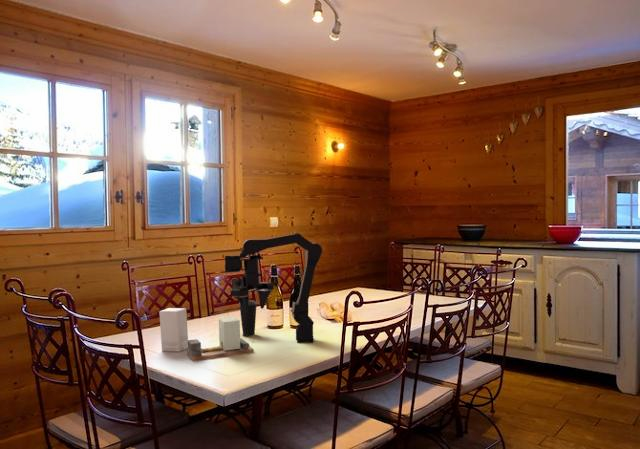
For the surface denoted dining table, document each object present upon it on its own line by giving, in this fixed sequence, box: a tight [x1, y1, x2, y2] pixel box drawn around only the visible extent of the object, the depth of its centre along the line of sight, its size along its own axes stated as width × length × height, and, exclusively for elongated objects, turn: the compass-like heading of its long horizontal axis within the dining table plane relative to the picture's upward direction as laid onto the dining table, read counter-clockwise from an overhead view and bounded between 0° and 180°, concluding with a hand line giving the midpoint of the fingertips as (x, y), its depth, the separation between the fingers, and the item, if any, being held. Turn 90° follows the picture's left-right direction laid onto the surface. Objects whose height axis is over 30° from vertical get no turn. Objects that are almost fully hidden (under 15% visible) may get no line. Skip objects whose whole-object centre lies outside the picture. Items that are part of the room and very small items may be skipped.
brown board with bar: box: [186, 337, 254, 362], centre depth 193 cm, size 22×10×6 cm, turn 116°
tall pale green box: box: [218, 316, 241, 351], centre depth 194 cm, size 6×7×10 cm
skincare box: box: [158, 307, 189, 353], centre depth 199 cm, size 8×7×16 cm
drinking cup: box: [238, 292, 258, 337], centre depth 219 cm, size 8×8×20 cm
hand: (253, 310), depth 204 cm, fingers open, 9 cm apart
